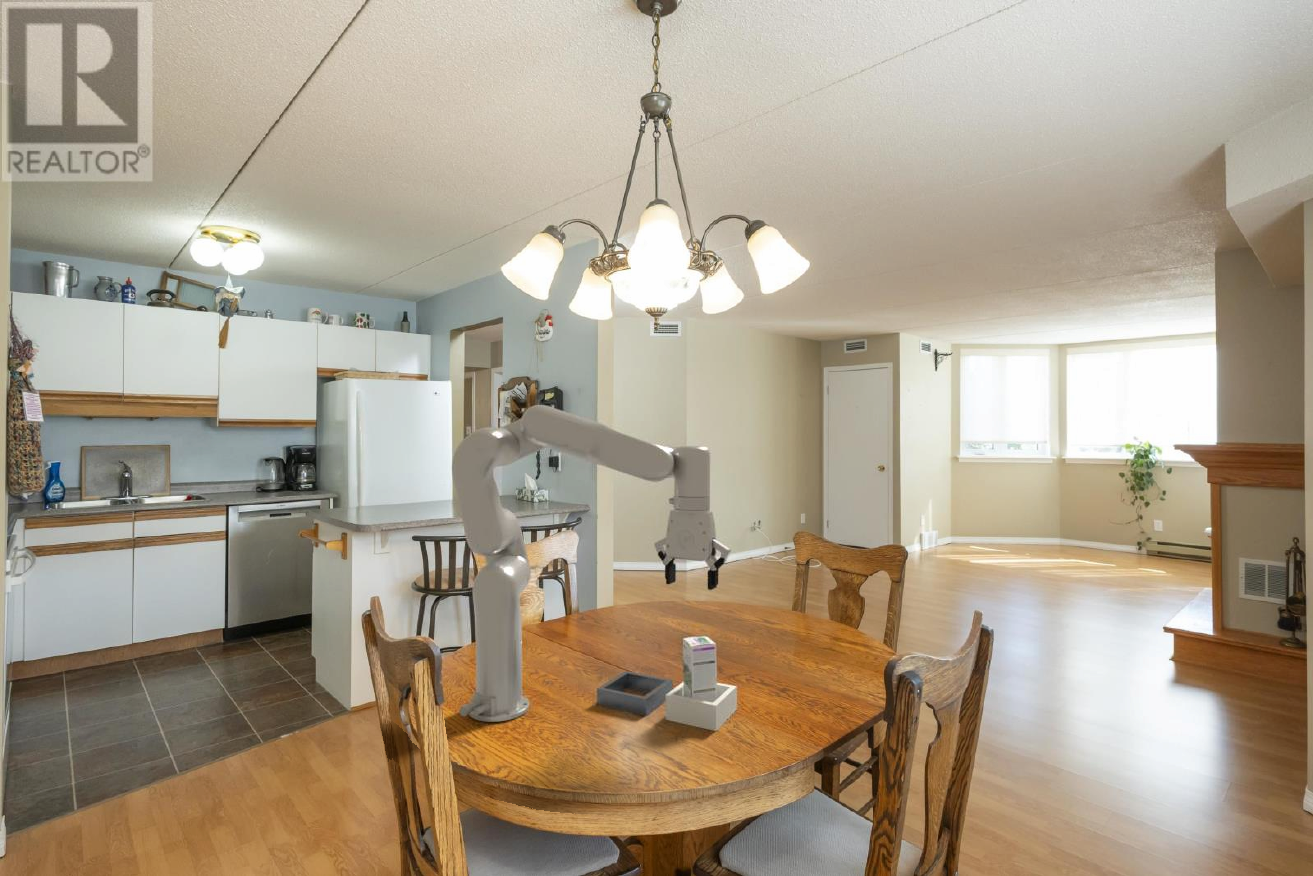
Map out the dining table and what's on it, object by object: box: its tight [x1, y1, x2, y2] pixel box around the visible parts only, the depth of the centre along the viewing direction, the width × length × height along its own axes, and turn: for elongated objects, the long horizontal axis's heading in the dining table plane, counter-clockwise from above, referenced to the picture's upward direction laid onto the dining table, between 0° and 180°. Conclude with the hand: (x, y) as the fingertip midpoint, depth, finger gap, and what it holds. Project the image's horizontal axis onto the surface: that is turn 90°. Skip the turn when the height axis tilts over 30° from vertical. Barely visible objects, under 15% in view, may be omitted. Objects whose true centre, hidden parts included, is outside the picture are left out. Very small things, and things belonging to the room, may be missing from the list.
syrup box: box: [682, 635, 718, 702], centre depth 134 cm, size 6×6×14 cm
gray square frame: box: [596, 670, 674, 717], centre depth 142 cm, size 12×12×4 cm
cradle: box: [665, 681, 738, 732], centre depth 134 cm, size 11×11×5 cm
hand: (691, 585), depth 136 cm, fingers open, 9 cm apart
